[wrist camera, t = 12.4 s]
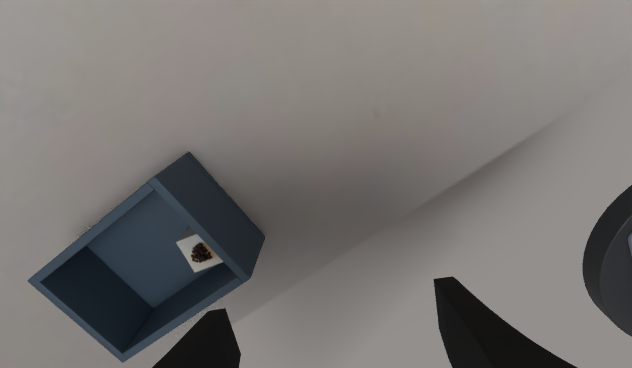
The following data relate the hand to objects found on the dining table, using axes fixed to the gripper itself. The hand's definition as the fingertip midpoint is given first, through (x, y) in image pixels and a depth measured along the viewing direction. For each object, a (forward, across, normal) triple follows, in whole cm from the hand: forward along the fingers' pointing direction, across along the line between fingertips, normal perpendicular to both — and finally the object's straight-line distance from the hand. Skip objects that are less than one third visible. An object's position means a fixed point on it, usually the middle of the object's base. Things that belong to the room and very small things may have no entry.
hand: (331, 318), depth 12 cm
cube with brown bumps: (+10, +8, +1) cm, 13 cm away
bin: (+10, +11, +1) cm, 15 cm away
